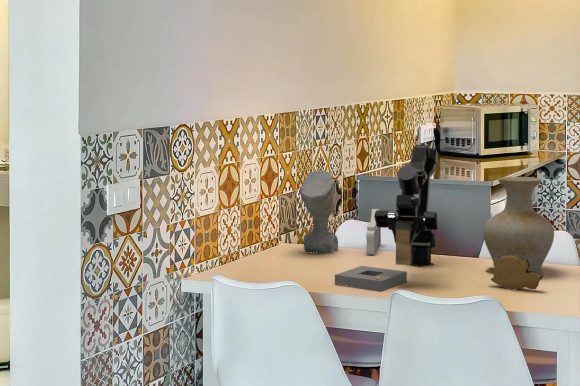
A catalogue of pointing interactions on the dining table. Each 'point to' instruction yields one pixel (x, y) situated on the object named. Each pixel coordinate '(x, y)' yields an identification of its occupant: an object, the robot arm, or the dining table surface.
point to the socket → (371, 278)
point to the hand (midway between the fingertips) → (402, 242)
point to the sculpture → (319, 211)
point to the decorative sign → (373, 235)
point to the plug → (403, 242)
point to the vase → (519, 225)
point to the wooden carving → (514, 273)
